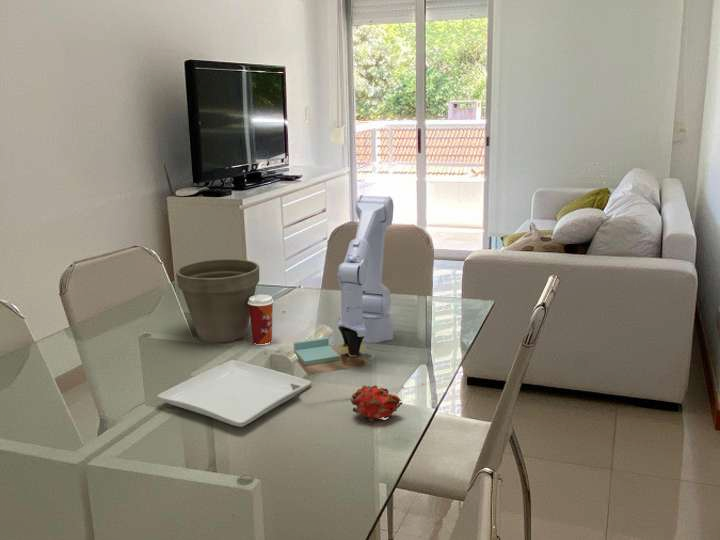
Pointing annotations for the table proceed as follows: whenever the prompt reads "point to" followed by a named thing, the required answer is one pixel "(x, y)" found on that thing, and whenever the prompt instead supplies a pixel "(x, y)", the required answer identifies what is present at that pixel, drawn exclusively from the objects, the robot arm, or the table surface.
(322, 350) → the cover
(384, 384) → the table surface
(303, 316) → the table surface
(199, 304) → the plant pot
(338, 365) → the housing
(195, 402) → the square plate
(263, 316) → the paper cup
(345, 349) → the tan block with knob
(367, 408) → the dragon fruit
